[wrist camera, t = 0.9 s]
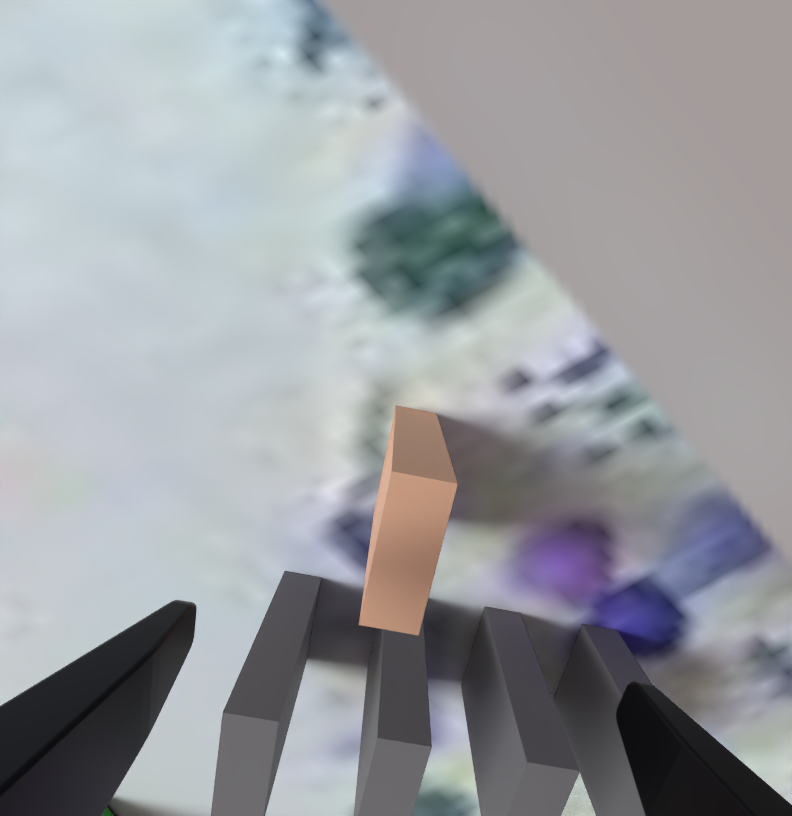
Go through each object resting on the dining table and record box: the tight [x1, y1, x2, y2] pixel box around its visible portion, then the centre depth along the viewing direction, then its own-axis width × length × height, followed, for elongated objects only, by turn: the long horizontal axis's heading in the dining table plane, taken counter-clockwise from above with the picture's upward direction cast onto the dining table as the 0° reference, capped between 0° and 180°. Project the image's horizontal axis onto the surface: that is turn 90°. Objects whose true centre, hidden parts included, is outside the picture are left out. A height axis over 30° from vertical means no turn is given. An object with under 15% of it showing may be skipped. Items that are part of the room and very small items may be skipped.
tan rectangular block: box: [359, 406, 458, 635], centre depth 15 cm, size 2×5×7 cm, turn 169°
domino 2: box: [354, 620, 432, 816], centre depth 17 cm, size 2×5×7 cm, turn 169°
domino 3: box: [461, 607, 580, 816], centre depth 17 cm, size 2×5×7 cm, turn 169°
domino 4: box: [553, 624, 652, 816], centre depth 17 cm, size 2×5×7 cm, turn 169°
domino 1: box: [211, 571, 321, 816], centre depth 17 cm, size 2×5×7 cm, turn 169°
